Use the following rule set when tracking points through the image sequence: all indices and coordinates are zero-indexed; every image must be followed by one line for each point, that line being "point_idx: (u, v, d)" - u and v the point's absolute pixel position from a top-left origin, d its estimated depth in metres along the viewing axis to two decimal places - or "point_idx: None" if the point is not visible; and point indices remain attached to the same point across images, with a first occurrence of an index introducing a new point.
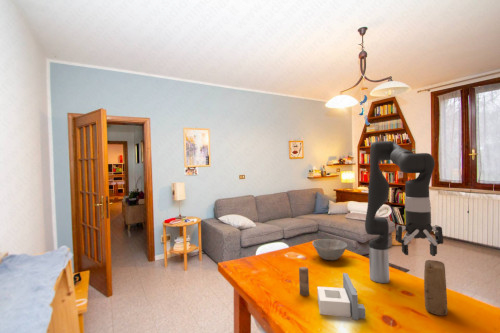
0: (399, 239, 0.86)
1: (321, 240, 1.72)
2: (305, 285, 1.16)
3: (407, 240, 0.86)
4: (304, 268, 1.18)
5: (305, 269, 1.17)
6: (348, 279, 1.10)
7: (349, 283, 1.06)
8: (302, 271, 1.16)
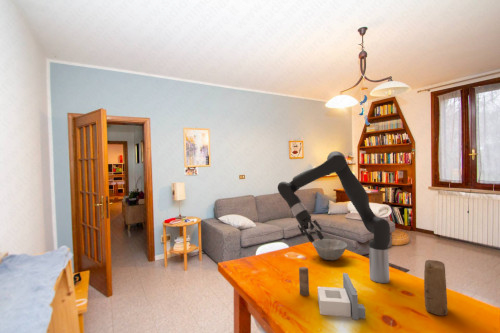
0: None
1: (321, 240, 1.72)
2: (305, 285, 1.16)
3: None
4: (304, 268, 1.18)
5: (305, 269, 1.17)
6: (348, 279, 1.10)
7: (349, 283, 1.06)
8: (302, 271, 1.16)
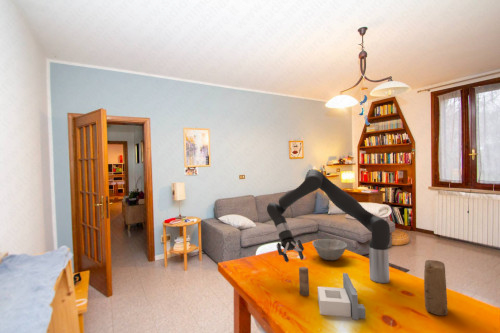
0: None
1: (321, 240, 1.72)
2: (305, 285, 1.16)
3: None
4: (304, 268, 1.18)
5: (305, 269, 1.17)
6: (348, 279, 1.10)
7: (349, 283, 1.06)
8: (302, 271, 1.16)
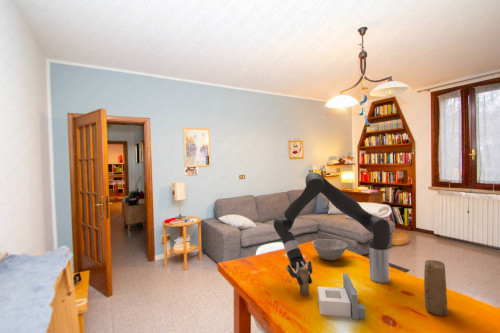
0: None
1: (321, 240, 1.72)
2: (305, 285, 1.16)
3: None
4: (304, 268, 1.18)
5: (305, 269, 1.17)
6: (348, 279, 1.10)
7: (349, 283, 1.06)
8: (302, 271, 1.16)
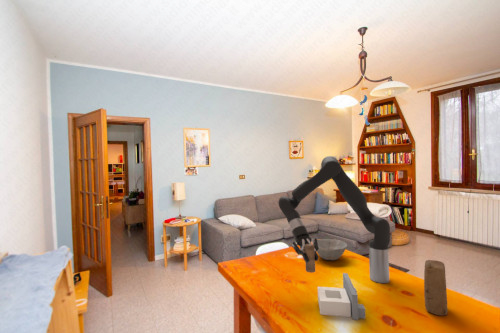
0: None
1: (321, 240, 1.72)
2: (311, 261, 1.13)
3: None
4: (310, 245, 1.16)
5: (311, 245, 1.15)
6: (348, 279, 1.10)
7: (349, 283, 1.06)
8: (308, 247, 1.14)
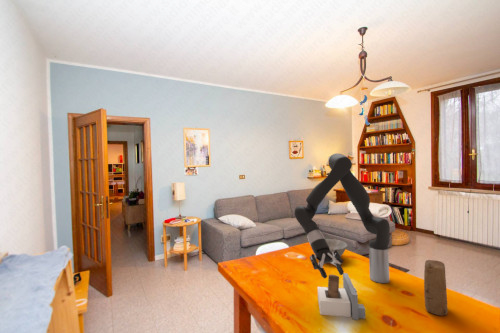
0: None
1: None
2: (335, 294, 1.04)
3: None
4: (334, 276, 1.07)
5: (336, 277, 1.07)
6: (348, 279, 1.10)
7: (349, 283, 1.06)
8: (332, 279, 1.05)
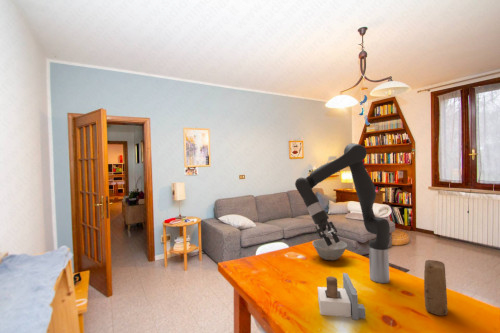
0: None
1: (321, 240, 1.72)
2: (334, 297, 1.03)
3: None
4: (332, 279, 1.05)
5: (334, 280, 1.04)
6: (348, 279, 1.10)
7: (349, 283, 1.06)
8: (330, 283, 1.03)
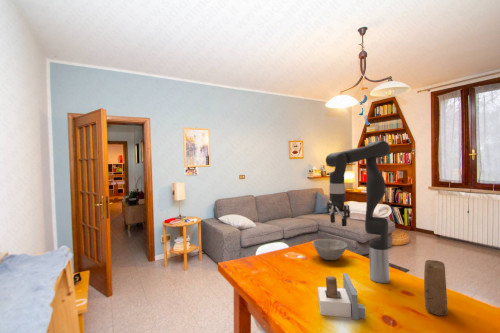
0: (327, 211, 1.29)
1: (321, 240, 1.72)
2: (333, 296, 1.04)
3: (330, 212, 1.26)
4: (332, 278, 1.06)
5: (333, 279, 1.05)
6: (348, 279, 1.10)
7: (349, 283, 1.06)
8: (329, 282, 1.04)
